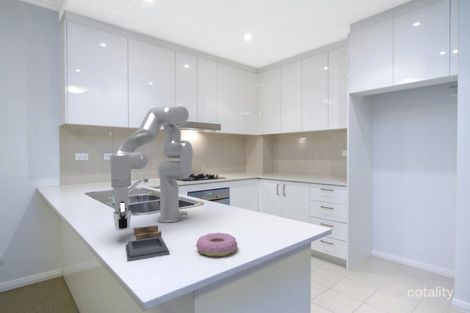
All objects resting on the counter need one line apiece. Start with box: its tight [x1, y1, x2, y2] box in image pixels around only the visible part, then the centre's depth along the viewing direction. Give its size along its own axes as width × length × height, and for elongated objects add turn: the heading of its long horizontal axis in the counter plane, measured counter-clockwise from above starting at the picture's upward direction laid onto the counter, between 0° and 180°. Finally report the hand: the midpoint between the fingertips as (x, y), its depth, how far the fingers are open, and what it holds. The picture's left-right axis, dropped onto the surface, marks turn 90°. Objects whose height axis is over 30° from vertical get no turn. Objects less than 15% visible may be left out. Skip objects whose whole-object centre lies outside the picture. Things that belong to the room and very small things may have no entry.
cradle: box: [125, 236, 171, 262], centre depth 97 cm, size 14×14×2 cm
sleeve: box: [133, 224, 162, 240], centre depth 113 cm, size 10×11×3 cm
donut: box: [195, 232, 238, 258], centre depth 98 cm, size 16×15×5 cm
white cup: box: [112, 209, 132, 231], centre depth 109 cm, size 7×7×7 cm
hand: (122, 225), depth 109 cm, fingers closed on white cup, 6 cm apart
